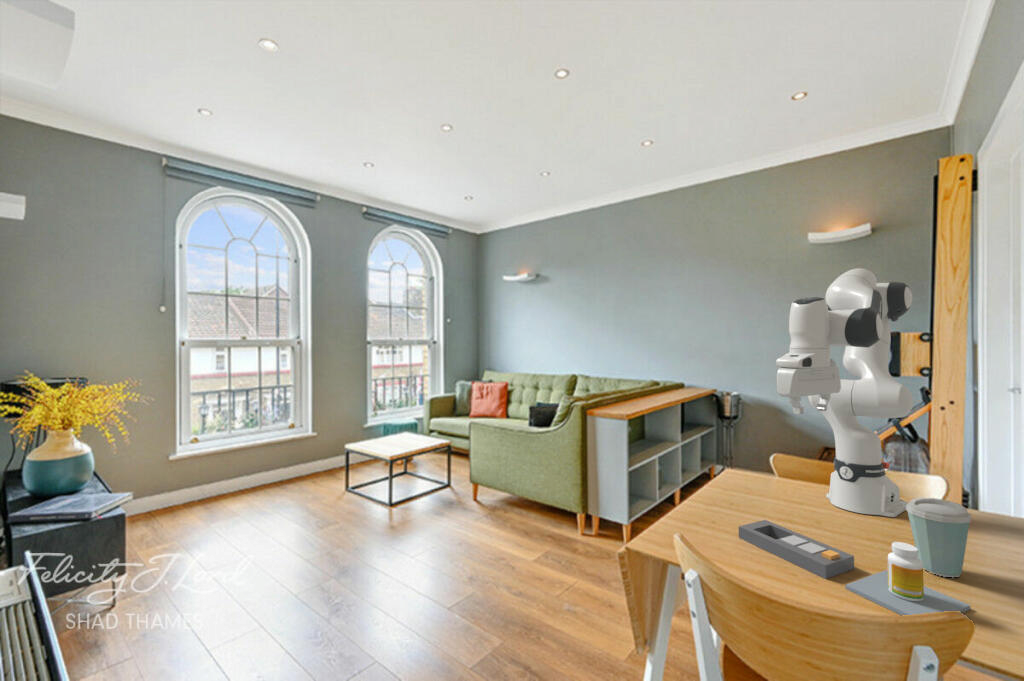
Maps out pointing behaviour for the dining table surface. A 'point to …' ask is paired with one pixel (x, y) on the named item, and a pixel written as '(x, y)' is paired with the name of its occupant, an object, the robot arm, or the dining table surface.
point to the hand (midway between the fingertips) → (810, 412)
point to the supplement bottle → (905, 572)
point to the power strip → (797, 548)
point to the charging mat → (879, 593)
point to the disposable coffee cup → (939, 534)
